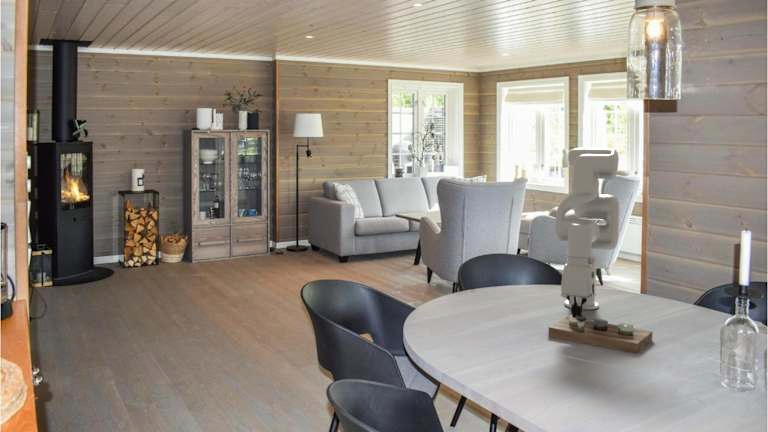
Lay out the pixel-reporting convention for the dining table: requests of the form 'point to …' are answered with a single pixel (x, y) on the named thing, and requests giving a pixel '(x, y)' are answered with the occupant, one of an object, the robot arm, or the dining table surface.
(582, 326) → the dial post
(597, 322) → the knob charcoal
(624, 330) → the knob sage
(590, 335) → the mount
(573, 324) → the knob cream
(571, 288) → the robot arm
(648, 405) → the dining table surface
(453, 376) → the dining table surface
